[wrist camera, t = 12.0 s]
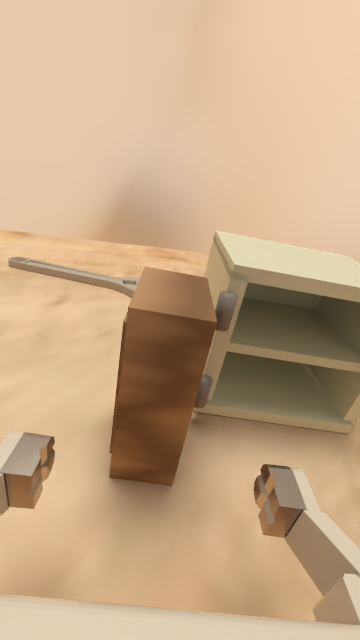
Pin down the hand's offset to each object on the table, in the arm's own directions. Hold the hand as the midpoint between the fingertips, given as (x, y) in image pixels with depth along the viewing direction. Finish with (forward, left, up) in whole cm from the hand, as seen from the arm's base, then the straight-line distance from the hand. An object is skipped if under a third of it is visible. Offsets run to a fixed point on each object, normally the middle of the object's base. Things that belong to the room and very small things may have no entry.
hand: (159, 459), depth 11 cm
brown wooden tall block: (0, +7, -8) cm, 10 cm away
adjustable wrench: (-12, +36, -8) cm, 39 cm away
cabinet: (+10, +17, -8) cm, 21 cm away
